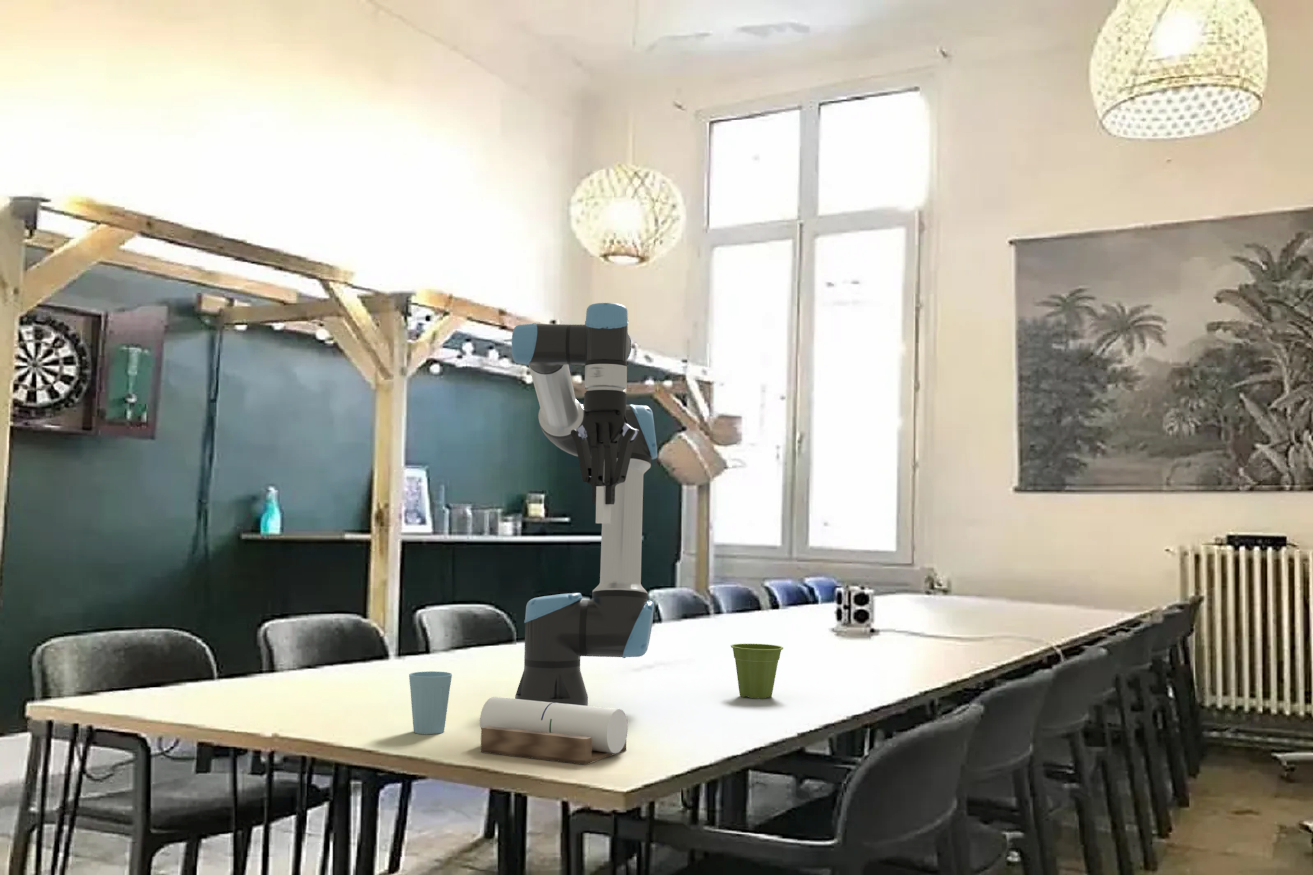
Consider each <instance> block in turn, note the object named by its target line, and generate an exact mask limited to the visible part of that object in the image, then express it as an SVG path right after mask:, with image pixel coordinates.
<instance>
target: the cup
mask: <svg viewBox="0 0 1313 875" xmlns="http://www.w3.org/2000/svg"><path fill="white" fill-rule="evenodd" d="M408 677H409V678H408V679H409V688H410V689H409V690H410V700H411V701H410V703H411V713H412V714H411V715H412V727H413V728H412V730H413V733H414V732H415V734H419V735H436V734H437V735H439V734H441V733H444V732H445V727H446V721H447V720H446V719H447V714H448V713H447V712H448V705H449V696H450V688H451V684H452V678H453V674H452V673H451V672H447V671H433V670H432V671H430V670H429V671H417V672H411V673H409V674H408Z"/></svg>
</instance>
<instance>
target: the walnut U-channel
mask: <svg viewBox="0 0 1313 875" xmlns="http://www.w3.org/2000/svg"><path fill="white" fill-rule="evenodd" d="M480 732H481V733H480V753H483V754H486V753H487V754H493V755H501V756H502V755H503V756H509V757H516V758H517V757H519V758H528V759H535V760H543V761H549V762H558V763H559V762H560V763H568V764H577V765H582V766H583V765H584V766H586V765H589V764H591V763H594V762H597V761H599V760H603V759H605V758H608V757H611V756H613V755H617V754H619V753H622V752H625V751H627V741H626V742H625V744H624V746H623V748H622V750H621V751H620V752H618V753H607V752H598V751H592V737H585V736H575V735H566V734H557V733H548V732H538V731H529V730H520V729H511V728H502V727H492V726H487V727H483V728H481V727H480Z"/></svg>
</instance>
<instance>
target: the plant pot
mask: <svg viewBox="0 0 1313 875" xmlns="http://www.w3.org/2000/svg"><path fill="white" fill-rule="evenodd" d="M730 648H731V649H732V652H733V658H734V661H735V670H736V677H737V684H738V685H737V686H738V691H739V693H738V694H739V696H740V697H742V698H746V697H748V698H750V699H754V700H755V699H760V700H763V699H767V698H772V696H773V691H774V686H775V681H776V680H775V679H776V674H777V668H778V663H779V660H780V657H781V654H782V653H781V652H782V650H784V646H782V645H776V644H768V643H735V644H730Z"/></svg>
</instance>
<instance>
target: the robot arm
mask: <svg viewBox="0 0 1313 875" xmlns="http://www.w3.org/2000/svg"><path fill="white" fill-rule="evenodd" d="M585 314H586V315H585V320H584V324H564V323H562V324H561V323H560V324H558V323H557V324H556V323H555V324H554V323H553V324H552V323H544V324H543V323H535V322H534V323H526V324H517V325H515V326H514V328H513V330H512V335H511V355H512V359H513V360H512V361H514V363H515V364H518V365H525V366H528V368H529V371H530V375H531V380H532V382H533V386H534V387H533V388H534V390H535V393H536V397H537V400H538V404H539V409H538V414H537V415H538V416H537V417H538V422H539V425H540V429H541V431H542V432H543V434H544V436H545V437H546V438H547V439H548V440H549V441H550V442H551V443H552V444H553V445H554V446H555V447H557V448H559V449H560V450H561V451H563V452H564V453H567V454H570V455H572V456H575V457H577V458H578V464H579V469H580V475H581V480H582V482H584V483H586V484H589V485H591V487H592V488H591V489H592V490H591V491H592V494H591V497H592V498H591V501H592V502H591V503H592V505H595V524H601V539H600V540H601V541H600V543H601V544H600V545H601V546H600V573H599V577H600V578H599V584H598V585H597V586H596V587H595V588H594V589H592V596H591V597H592V598H591V599H583V595H582V593H581V592H572V593H570V592H569V593H560V594H552V595H551V594H550V595H544V596H539V597H534V598H531V599H530V600H528V601H527V603H526V606H525V616H524V618H525V619H524V620H523V621H524V622H523V623H524V660H523V661H524V664H523V668H524V669H523V671H522V675H521V678H520V680H519V684H518V687H517V688H516V689H517V690H516V692H515V695H514V699H522V700H532V701H543V702H553V703H563V704H573V705H583V706H589V695H588V692H587V689H586V685H585V682H584V679H583V675H582V671H581V657H600V658H601V657H602V658H604V657H606V658H622V659H625V658H639V657H643V656H644V655H645V654H646V653H647V651H648V648H649V645H650V640H651V634H652V628H653V620H654V611H655V602H654V601H652V600H650V599H648V591H647V590H646V589H645V588H644V587H643V585H642V584H641V582H642V548H643V547H642V546H643V543H642V540H643V538H642V537H643V507H644V506H643V504H644V503H643V502H644V501H643V500H644V499H643V497H644V475H645V473H646V472H647V471H648V470H649V469H651V467H652V464H651V462H652V460H655V459H657V458H658V448H657V447H658V446H657V438H656V430H655V429H656V428H655V421H654V413H653V410H652V409H651V407H649V406H648V405H642V404H640V405H638V404H633V403H630V404H627V395H628V394H627V393H626V392H625V391H624V390H626V389H627V386H628V385H627V384H628V379H627V377H628V368H627V367H628V364H627V363H628V362H627V360H628V359H629V358H630V355H631V352H632V339H631V337H630V334H629V331H628V330H629V329H628V328H629V327H628V325H629V319H628V317H629V313H628V308H627V307H626V306H625V305H623V304H620V303H615V302H597V303H592V304H589V305H588V306H587V307H586V312H585ZM569 365H571V366H572V365H577V366H582V365H583V366H584V388H585V389H587V390H585V392H584V393H583V396H584V397H583V398H584V399H583V401H584V402H583V403H581V402H579V400H577V398H576V395H575V389H574V384H573V380H572V379H573V378H572V375H571V372H570V371H571V370H570V366H569Z"/></svg>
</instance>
